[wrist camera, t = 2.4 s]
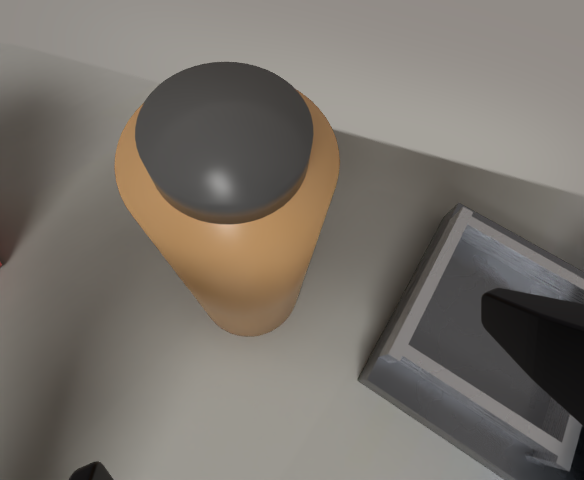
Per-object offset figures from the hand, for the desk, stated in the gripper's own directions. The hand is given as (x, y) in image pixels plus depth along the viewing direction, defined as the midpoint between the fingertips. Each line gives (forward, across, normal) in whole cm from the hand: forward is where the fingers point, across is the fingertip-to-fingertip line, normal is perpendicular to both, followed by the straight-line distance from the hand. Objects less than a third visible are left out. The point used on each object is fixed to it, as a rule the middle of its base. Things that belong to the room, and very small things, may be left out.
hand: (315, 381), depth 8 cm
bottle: (+13, 0, +5) cm, 14 cm away
